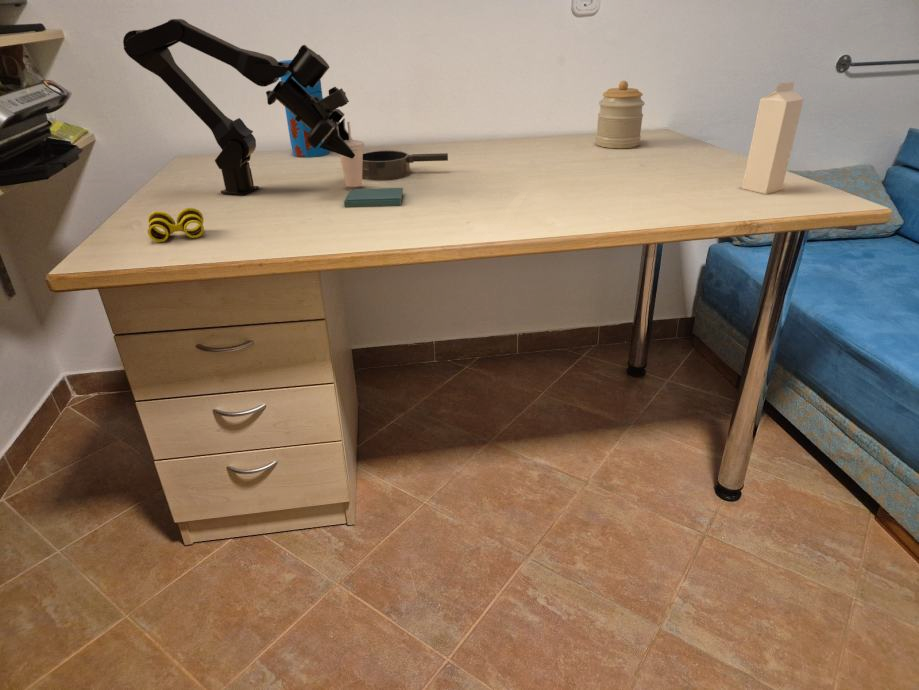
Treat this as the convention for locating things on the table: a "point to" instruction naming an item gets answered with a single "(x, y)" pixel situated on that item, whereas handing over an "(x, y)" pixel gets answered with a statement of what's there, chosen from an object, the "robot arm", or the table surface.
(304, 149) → the thermos
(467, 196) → the table surface
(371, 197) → the teal flat block
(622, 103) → the jar
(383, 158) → the pan
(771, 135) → the milk
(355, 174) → the smoothie
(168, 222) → the opera glasses
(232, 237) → the table surface
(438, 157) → the pan handle
